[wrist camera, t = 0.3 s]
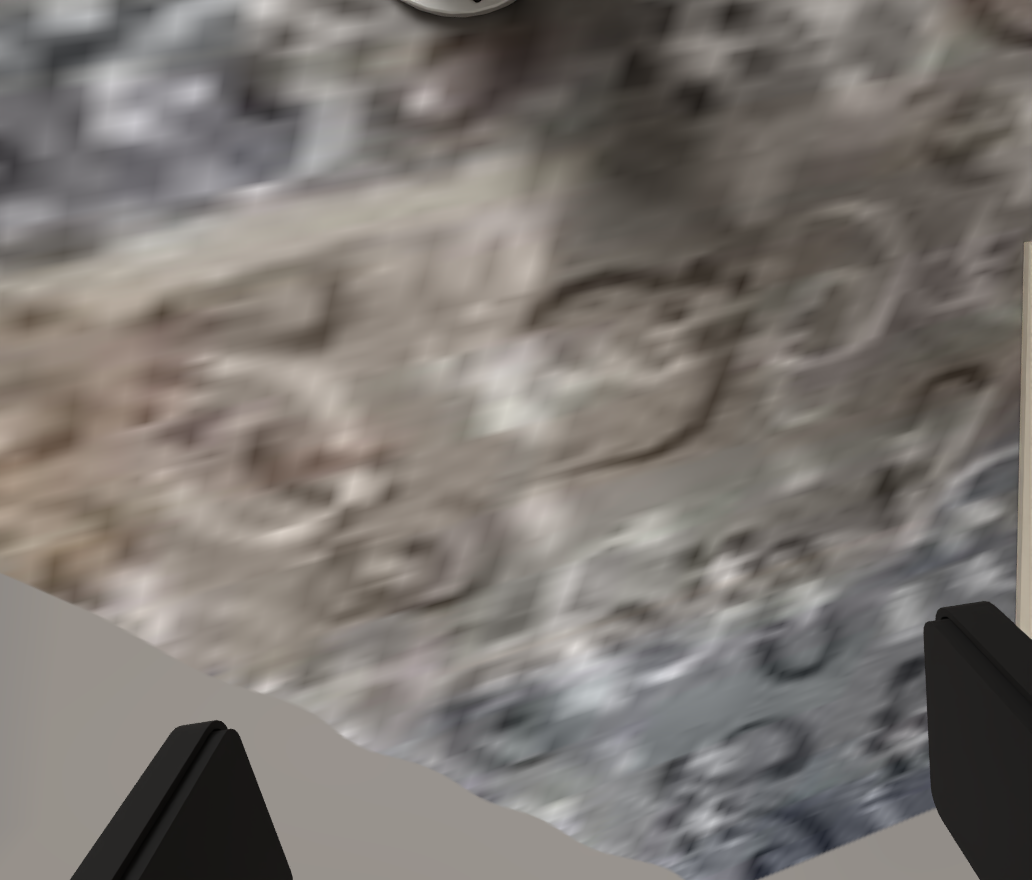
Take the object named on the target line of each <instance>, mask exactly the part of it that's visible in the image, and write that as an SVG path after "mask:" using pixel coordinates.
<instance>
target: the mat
mask: <svg viewBox="0 0 1032 880" xmlns="http://www.w3.org/2000/svg"><path fill="white" fill-rule="evenodd" d="M1016 626H1017V627H1019V628H1020V629H1021V630H1022V631H1023V632H1024V633H1025V634H1026V635H1027V636H1028V637H1029V638H1031V639H1032V241H1029V242H1024V262H1023V308H1022V354H1021V400H1020V446H1019V492H1018V538H1017V584H1016Z"/></svg>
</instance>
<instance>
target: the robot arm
mask: <svg viewBox="0 0 1032 880" xmlns="http://www.w3.org/2000/svg"><path fill="white" fill-rule="evenodd" d="M401 1H403V2H405V3H407V4H409V5H410V6H412V7H414V8H416V9H418V10H421V11H425V12H428V13H432V14H435V15H439V16H447V17H463V18H464V17H470V16H477V15H483V14H488V13H490V12H493V11H496V10H498V9H501V8H503V7H506V6H508V5H510V4H511V3H513V2H514V1H516V0H481V1H480V2H479V3H476V2H474V1H473V0H401ZM924 653H925V674H926V695H927V716H928V737H929V758H930V779H931V791H932V796H933V800H934V803H935V806H936V808H937V811H938V813H939V815H940V817H941V819H942V821H943V822H944V824H945V825H946V827H947V828H948V830H949V832H950V833H951V835H952V836H953V838H954V840H955V841H956V843H957V844H958V846H959V848H960V849H961V851H962V852H963V854H964V855H965V857H966V858H967V860H968V862H969V863H970V865H971V866H972V868H973V870H974V871H975V873H976V874H977V876H978V877H979V879H980V880H1032V639H1031V638H1029V637H1028V636H1027V635H1026V634H1025V633H1024V632H1023V631H1022V630H1021V629H1020V628H1019V627H1017V626H1016V625H1015V624H1014V623H1013V622H1012V621H1011V620H1010V619H1009V618H1008V617H1007V616H1005V615H1004V614H1003V613H1002V612H1001V611H1000V610H999V609H998V608H997V607H996V606H994V605H993V604H991V603H990V602H986V601H982V602H976V603H969V604H963V605H956V606H950V607H943V608H940V609H939V610H938V611H937V614H936V619H935V621H929V622H927V623H925V626H924ZM70 880H293V877H292V874H291V870H290V868H289V865H288V862H287V860H286V857H285V854H284V852H283V849H282V846H281V844H280V841H279V839H278V836H277V833H276V831H275V828H274V825H273V823H272V820H271V817H270V815H269V812H268V810H267V807H266V804H265V802H264V799H263V796H262V794H261V791H260V789H259V786H258V784H257V781H256V778H255V775H254V773H253V770H252V768H251V765H250V762H249V760H248V757H247V754H246V752H245V749H244V746H243V744H242V741H241V739H240V736H239V734H238V733H237V732H236V731H235V730H234V729H227V727H226V725H225V724H224V723H223V722H222V721H218V720H215V721H208V722H202V723H195V724H189V725H183V726H179V727H177V728H175V729H174V730H173V731H172V733H171V734H170V735H169V737H168V738H167V740H166V741H165V743H164V744H163V745H162V747H161V748H160V750H159V751H158V753H157V754H156V756H155V757H154V759H153V760H152V761H151V763H150V764H149V766H148V767H147V769H146V770H145V772H144V773H143V774H142V776H141V777H140V779H139V780H138V782H137V783H136V785H135V786H134V788H133V789H132V791H131V792H130V794H129V795H128V796H127V798H126V799H125V801H124V802H123V804H122V805H121V806H120V808H119V809H118V811H117V812H116V814H115V815H114V817H113V818H112V820H111V821H110V823H109V824H108V826H107V827H106V828H105V830H104V831H103V833H102V834H101V836H100V837H99V838H98V840H97V841H96V843H95V844H94V846H93V847H92V849H91V850H90V851H89V853H88V854H87V856H86V857H85V859H84V860H83V862H82V863H81V865H80V866H79V868H78V869H77V870H76V872H75V873H74V875H73V876H72V878H71V879H70Z"/></svg>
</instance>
